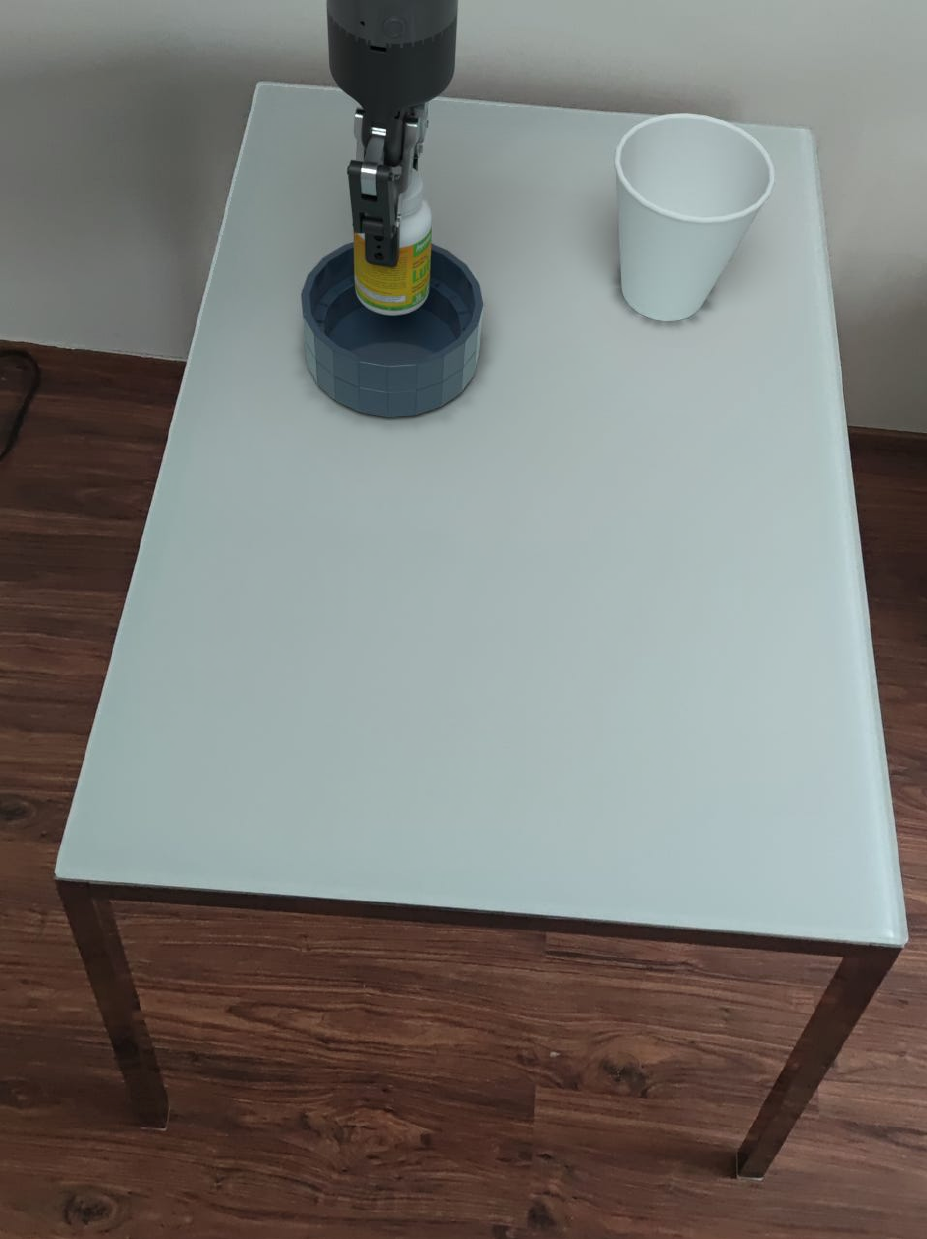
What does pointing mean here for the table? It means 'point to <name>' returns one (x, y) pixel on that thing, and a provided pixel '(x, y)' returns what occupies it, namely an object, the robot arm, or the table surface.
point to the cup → (684, 208)
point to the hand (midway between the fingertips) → (391, 231)
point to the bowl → (392, 338)
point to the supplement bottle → (411, 275)
